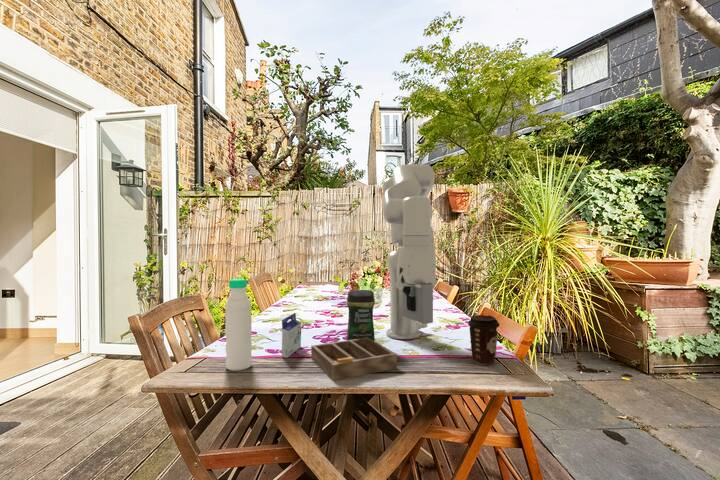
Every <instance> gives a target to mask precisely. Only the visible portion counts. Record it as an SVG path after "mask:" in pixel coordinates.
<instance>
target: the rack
mask: <svg viewBox="0 0 720 480" xmlns="http://www.w3.org/2000/svg"><path fill="white" fill-rule="evenodd" d="M310 346H311V360H312V361H313V362H314V363H315V364H316V365H317V366H318V367H319V368H320V370H322V371H323V372H324V373H325V374H326V375H327V376H328V377H329V378H330V379H331V380H332V381H337V380H344V379H348V378H353V377H354V378H355V377H359V376H364V375H369V374H374V373H380V372H384V371H389V370H394V369H397V367H398V366H397V363H398V362H397V358H398V357H397V353H395V352H394V351H392V350H391V349H388V348H387V347H385V346H383V345H382V344H380V343H378V342H377V341H376V340H375V341H373V340H371V339H369V338H368V337H367V338H360V339H353V340H347V339H346V340H342V341H341V340H340V341H334V342H333V341H332V342H328V343H327V342H326V343H321V344H314V345H310Z"/></svg>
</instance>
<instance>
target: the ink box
mask: <svg viewBox="0 0 720 480" xmlns="http://www.w3.org/2000/svg"><path fill="white" fill-rule="evenodd" d="M296 315H297V314H296V312H294V313H292V314H291V315H288V316H287V317H285V318H282V320H281V358H287V359H288V358H289V357H291V356H292V355H293V354H294V353H295V352H296V351H298V350H299V349H300V348H301V346H302V345H301V344H302V322H301V321H299V320H297V316H296ZM289 320H290V321H289Z"/></svg>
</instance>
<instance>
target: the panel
mask: <svg viewBox="0 0 720 480" xmlns="http://www.w3.org/2000/svg"><path fill="white" fill-rule="evenodd" d="M403 285H404V286H405V283H403ZM414 296H415V298H416V310H415V311H414V312H413V311H410V310H407V296H406V295H405V294H404V292H403V291H402V316H404V317H406V318H409V319H412V320H414V321H416V322H420V323H422V324H427V325H428V324H433V323H434V287H433V285H432V284H428V283H422V284H416V285H415V286H414Z"/></svg>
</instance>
